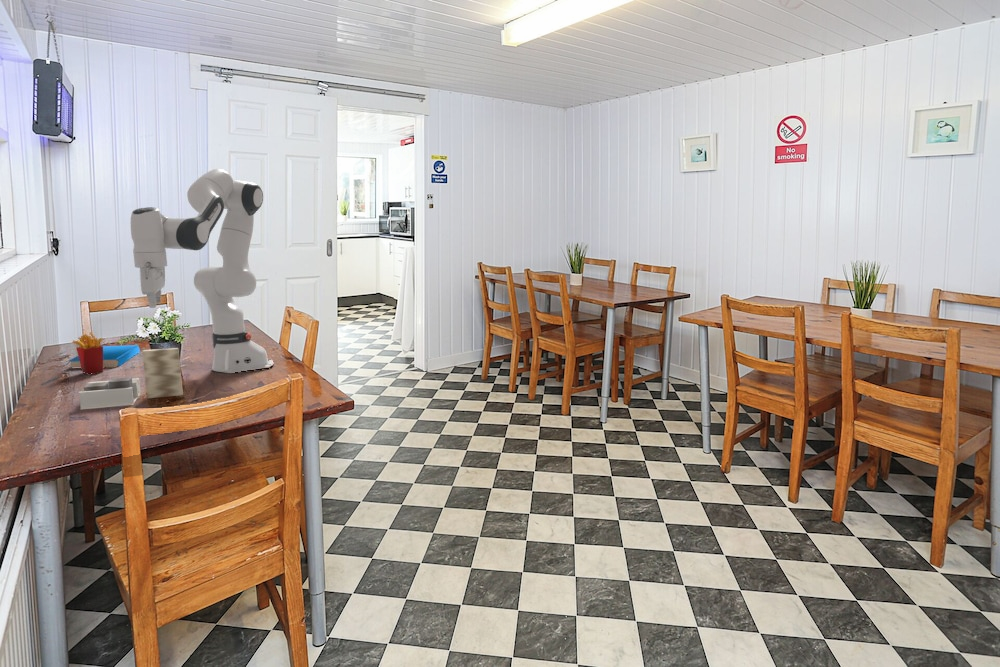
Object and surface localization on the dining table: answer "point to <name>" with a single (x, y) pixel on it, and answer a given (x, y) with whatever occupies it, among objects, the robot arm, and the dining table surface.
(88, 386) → the offcut short
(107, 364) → the book
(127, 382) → the offcut tall
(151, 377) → the birch board
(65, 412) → the dining table surface
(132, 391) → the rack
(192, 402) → the dining table surface
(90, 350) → the french fries
